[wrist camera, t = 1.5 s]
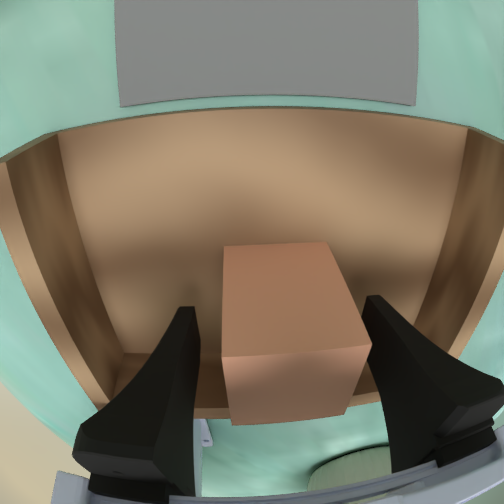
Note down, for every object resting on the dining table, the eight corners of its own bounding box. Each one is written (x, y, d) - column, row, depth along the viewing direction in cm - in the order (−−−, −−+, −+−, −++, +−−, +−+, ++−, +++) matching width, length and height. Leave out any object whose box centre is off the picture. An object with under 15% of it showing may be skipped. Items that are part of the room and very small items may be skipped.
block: (316, 315, 16) (343, 414, 11) (230, 321, 16) (232, 425, 11) (326, 241, 14) (372, 344, 9) (223, 246, 14) (221, 357, 9)
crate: (414, 335, 19) (440, 386, 16) (115, 354, 19) (99, 412, 15) (474, 127, 12) (538, 158, 8) (44, 134, 11) (-18, 168, 7)
